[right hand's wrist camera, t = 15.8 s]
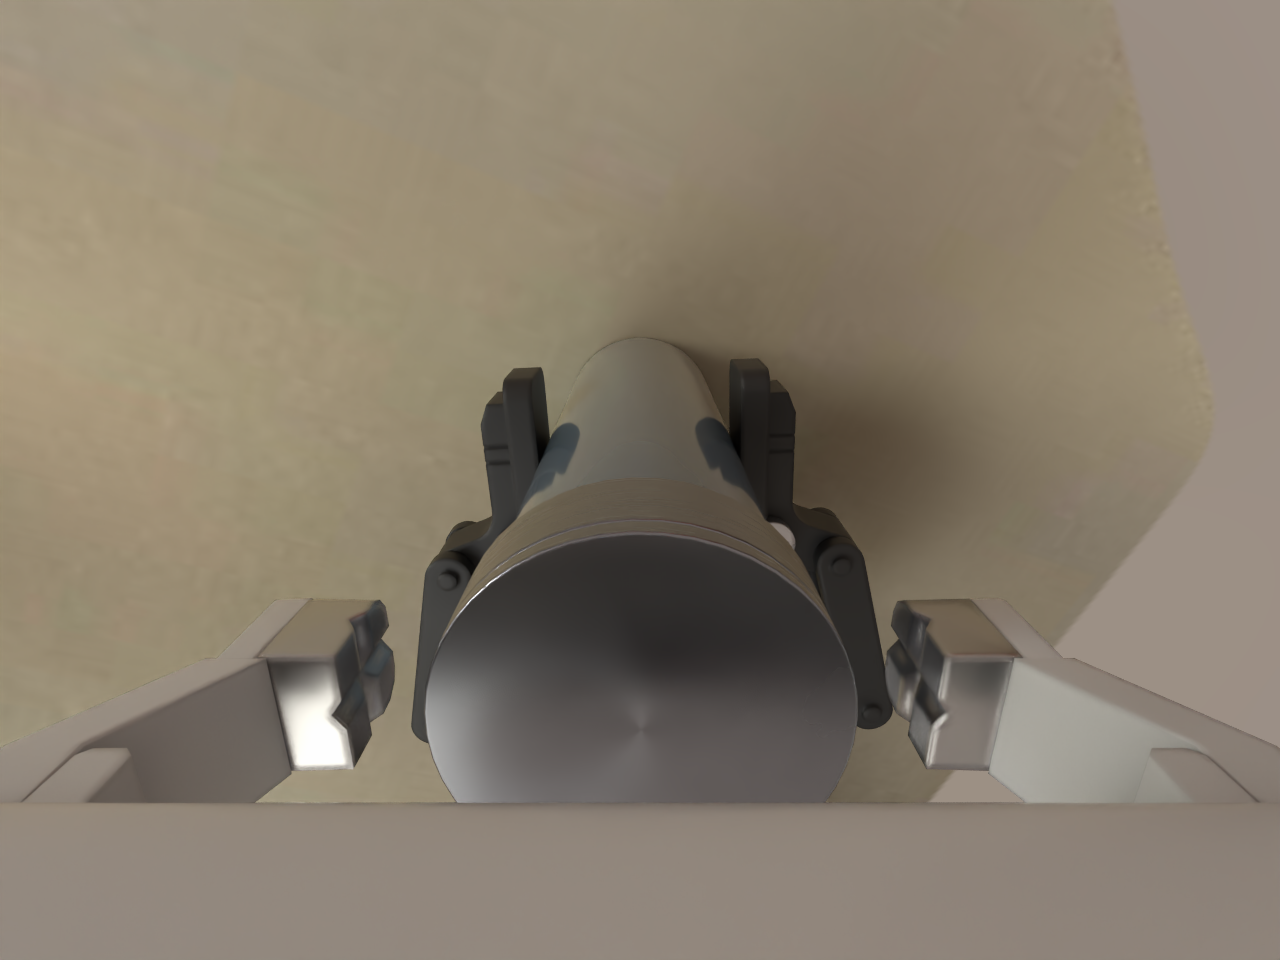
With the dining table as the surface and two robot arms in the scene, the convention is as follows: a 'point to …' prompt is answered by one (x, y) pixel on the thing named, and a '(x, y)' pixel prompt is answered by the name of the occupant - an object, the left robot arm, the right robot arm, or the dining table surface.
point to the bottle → (640, 427)
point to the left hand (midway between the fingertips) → (634, 371)
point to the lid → (640, 659)
